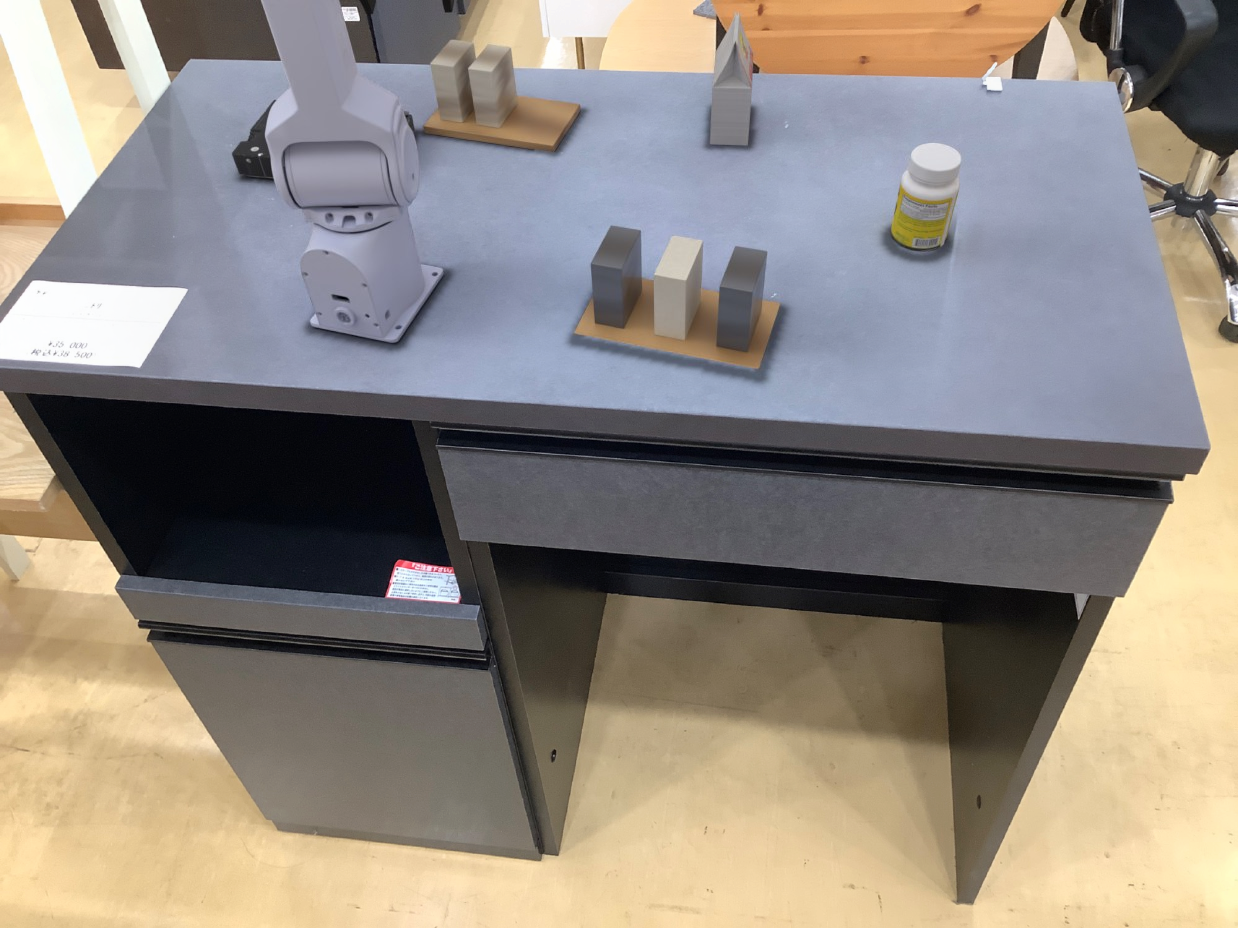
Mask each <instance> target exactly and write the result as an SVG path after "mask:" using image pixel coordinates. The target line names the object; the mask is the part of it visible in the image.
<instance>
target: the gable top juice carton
mask: <svg viewBox="0 0 1238 928" xmlns="http://www.w3.org/2000/svg"><path fill="white" fill-rule="evenodd" d="M713 63H714V64H713V77H712V86H711V87H712V88H711V106H710V107H711V110H710V113H711V114H710V130H709V131H710V132H709V133H710V134H709V145H717V146H718V145H719V146H748V145H749V134H750V133H749V131H750V123H751V122H750V119H751V110H752V109H751V107H752V96H753V95H752V94H753V75H754V74H753V72H754V51H753V49H752V46H751V44H750V41H749V38H748V37H747V34H746V32H745V29H744V26H743V23H742V19H741V12H740V11H738V13H737V10H735V11H734V15H733V18H732V21H731V23H730V25H729V27H728V29H727V31H726V33H725V34H724V37H723V38H722V40H721V41H720V44H719V45H718V47H717V49H716V51H715V53H714V62H713Z"/></svg>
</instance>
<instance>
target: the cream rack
mask: <svg viewBox="0 0 1238 928" xmlns="http://www.w3.org/2000/svg"><path fill="white" fill-rule="evenodd" d="M429 64H430V65H429V66H430V71H431V75H432V81H433V82H432V83H433V86H434V91H435V97H436V102H437V108H436V109H435V111H434V112H433V114H432V115H431V116H430V117H429V119H428V120H427V121H426V122H425V123H424V124H423V125H422V128H423V132H424V134H429V135H436V136H441V137H448V138H454V139H460V140H468V141H474V142H481V143H488V144H493V145H501V146H508V147H513V148H514V147H515V148H521V149H527V150H533V151H534V150H537V151H543V152H550V153H555V151H556V150H557V148H558V147H559V145H560V144H561V142H562V140H563V139H564V137H565V136H566V135H567V133H568V131H569V130H570V128H571V126H572V125H573V123H574V122H575V120H576V119H577V117H578V116H579V114H580V112H581V104H580V103H574V102H567V101H560V100H555V99H554V100H553V99H546V98H538V97H531V96H524V95H518V93H517V85H516V77H515V69H514V60H513V53H512V47H511V46H505V45H497V44H490V43H488V44H487V45H486V46H485V47H484V49H482V51H481V52H480V53H479V54H478V56H476V49H475V43H474V42H473V41H467V40H458V39H450V40H449V41H448V42H447V43H446V44H445V46H443V48H442V49H441V50H440V51H439V53H437V55H436V56H434V58H433V60H431V62H430V63H429Z"/></svg>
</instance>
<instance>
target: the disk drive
mask: <svg viewBox="0 0 1238 928" xmlns="http://www.w3.org/2000/svg"><path fill="white" fill-rule="evenodd" d="M276 100H277V99H273V101H271V102H270V104H269V106H268V107H267V108H266V109H265V111H264V112H263V114H261V115H260V117H259V118H258V119H257V120H256V122H254V124H253V125H252V127H251V128H250V129H249V135H248V138H247V140H241V141H240V142H239V143H238V145H236V147H235V148H234V149H233V151H232V152H231V156H232V159H233V162H234V164H235V166H236V169H237V172H238V175H241V176H242V175H245V176H247V177H253V178H263V179H274V178H273V173H272V167H271V156H270V152H269V148H268V145H267V141H266V138H265V130H266V125H267V119H268V115H269V112H270V110H271V107H272V105H273V104H274V103H275V101H276ZM403 111H404V114H405V117H406V120H407V123H408V125H409V127H410V128H411V129H412V131H413V133H415V129H416V128H415V124H414V118H413V115H412V114H410V112H409V110H407V111H406V110H404V109H403Z"/></svg>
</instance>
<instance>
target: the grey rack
mask: <svg viewBox="0 0 1238 928" xmlns="http://www.w3.org/2000/svg"><path fill="white" fill-rule="evenodd" d="M767 258H768V251H767V250H764V249H756V248H752V247H751V248H750V247H746V246H739V245H735V246H734V249H733V250H732V253H731V256H730V259H729V261H728V264H727V266H726V268H725V271H724V274H723V277H722V279H721V281H720V283H719V287H718V288H719V289H718V291H717V290H709V289H705V288H701V302H700V304H699V307H698V309H697V312H696V314H695V317H694V319H693V322H692V324H691V327H690V329H689V331H688V334H687V336H686V339H685V340H679V339H674V338H669V337H664V336H658V335H655V334H654V279H648V278H643V267H642V266H643V263H642V230H640V229H637V228H631V227H624V226H618V225H613V224H612V225H610V226H609V228H608V230H607V232H606V234H605V235H604V237H603V240H602V241H601V243H600V245H599V247H598V249H597V251H596V252H595V255H594V256H593V258H592V260H591V262H590V273H591V274H590V276H591V291H592V297H591V299H590V300H589V303H588V304H587V306H586V308H585V310H584V312H583V314H582V316H581V318H580V320H579V322H578V324H577V326H576V328H575V329H574V331H573V334H575V335H580V336H585V337H591V338H594V339H595V338H596V339H600V340H606V341H612V342H616V343H622V344H627V345H632V346H638V347H640V348H641V347H642V348H647V349H652V350H658V351H663V352H667V353H671V354H678V355H684V356H687V357H693V358H699V359H704V360H709V361H715V362H720V363H725V364H729V365H733V366H734V365H735V366H738V367H739V366H741V367H745V368H749V369H750V368H751V369H754V370H760V368H761V364H762V361H763V359H764V355H765V352H766V349H767V345H768V343H769V339H770V337H771V334H772V331H773V327H774V325H775V321H776V318H777V315H778V312H779V309H780V306H781V302H778V301H773V300H772V301H771V300H766V299H764V289H765V281H766V271H767V270H766V269H767V262H768V261H767V260H768V259H767Z"/></svg>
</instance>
